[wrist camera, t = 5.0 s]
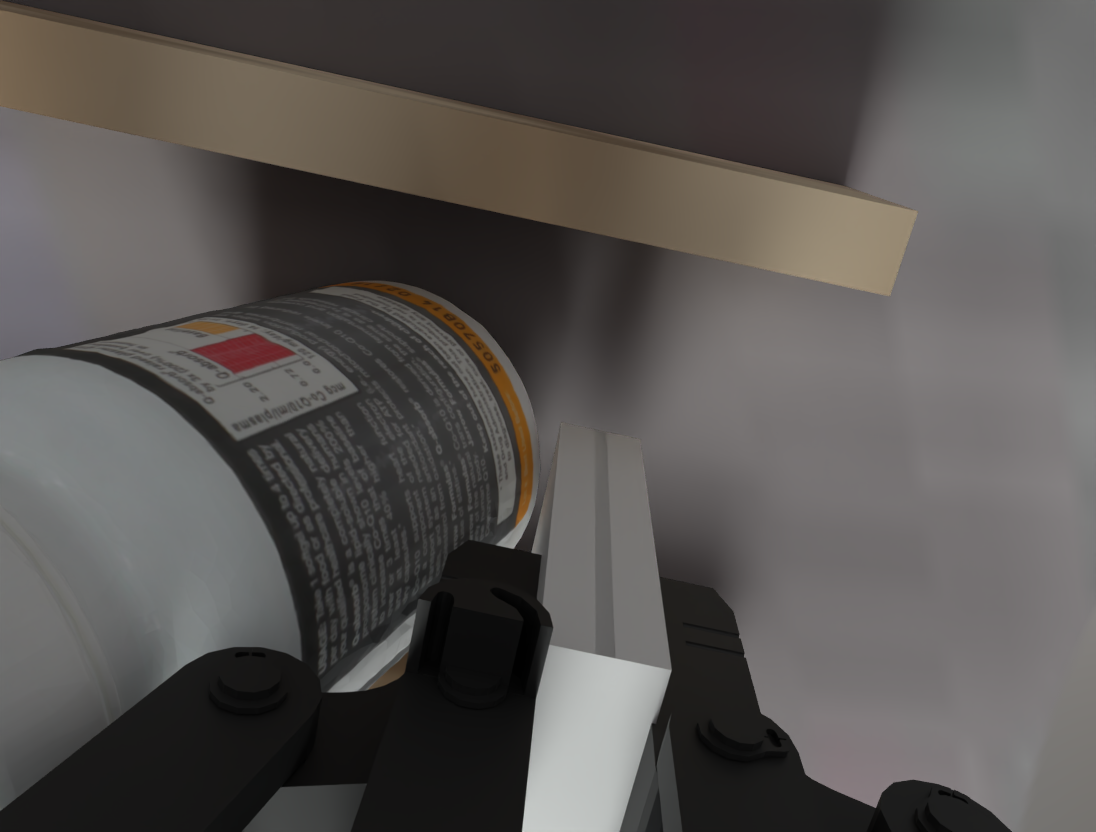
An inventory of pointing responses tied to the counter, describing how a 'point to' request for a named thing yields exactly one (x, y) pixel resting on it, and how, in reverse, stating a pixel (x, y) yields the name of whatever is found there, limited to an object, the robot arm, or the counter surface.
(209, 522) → the pill bottle
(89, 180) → the counter surface
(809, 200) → the bay
